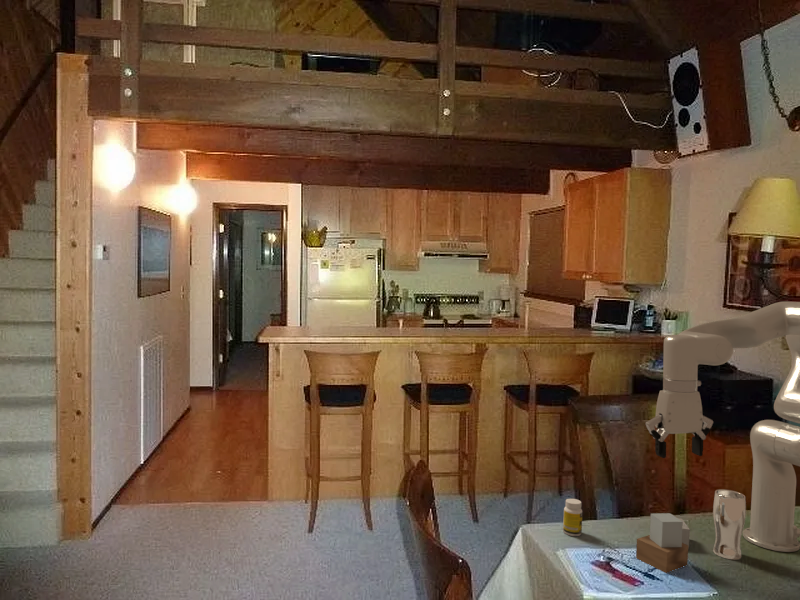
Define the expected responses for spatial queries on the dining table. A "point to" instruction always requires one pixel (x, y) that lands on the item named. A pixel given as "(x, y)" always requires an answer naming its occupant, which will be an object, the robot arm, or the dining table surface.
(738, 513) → the beer glass
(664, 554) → the walnut block
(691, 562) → the dining table surface
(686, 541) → the grey block
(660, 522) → the painted block
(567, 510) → the supplement bottle
